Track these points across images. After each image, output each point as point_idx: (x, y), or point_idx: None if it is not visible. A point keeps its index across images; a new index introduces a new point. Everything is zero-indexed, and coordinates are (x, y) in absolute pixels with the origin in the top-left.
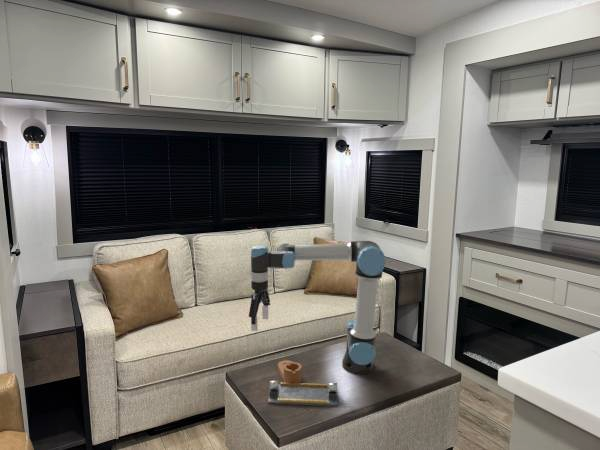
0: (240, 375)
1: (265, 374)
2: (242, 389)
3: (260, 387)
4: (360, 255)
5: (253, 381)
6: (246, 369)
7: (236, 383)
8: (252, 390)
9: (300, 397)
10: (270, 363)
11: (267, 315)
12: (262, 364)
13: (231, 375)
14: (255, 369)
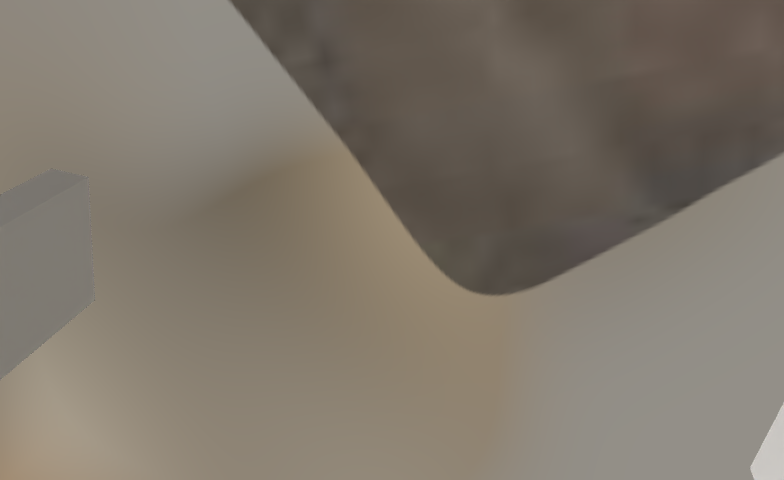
0: (501, 228)
1: (464, 17)
2: (725, 175)
3: (695, 21)
4: None
5: (591, 105)
6: (403, 197)
7: (627, 238)
8: (746, 86)
9: None
10: (268, 5)
11: (16, 223)
12: (300, 77)
13: (508, 293)
14: (392, 123)
